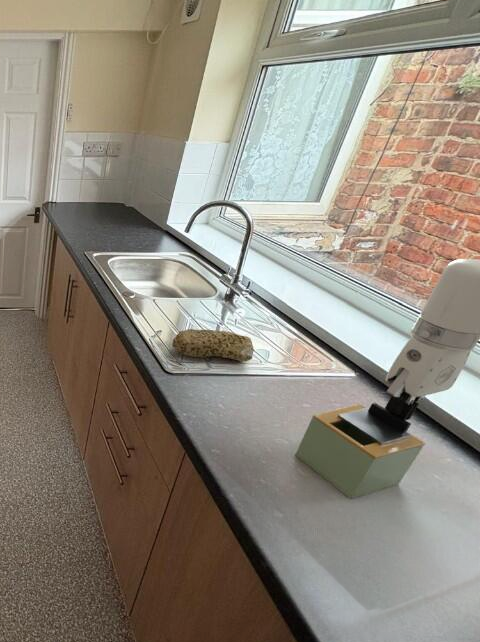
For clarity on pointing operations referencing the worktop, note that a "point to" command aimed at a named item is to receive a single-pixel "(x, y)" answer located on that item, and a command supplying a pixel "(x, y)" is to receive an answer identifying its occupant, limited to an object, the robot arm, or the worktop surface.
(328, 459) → the green open box
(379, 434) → the slider
